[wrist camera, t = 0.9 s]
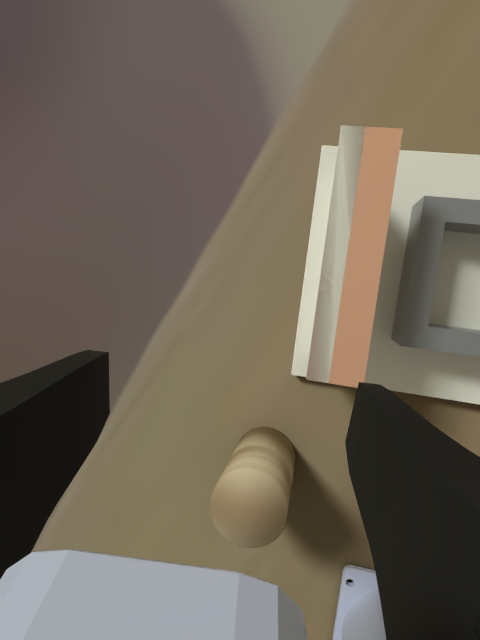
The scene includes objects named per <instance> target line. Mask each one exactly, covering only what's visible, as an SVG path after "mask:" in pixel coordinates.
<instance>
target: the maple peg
mask: <svg viewBox="0 0 480 640" xmlns="http://www.w3.org/2000/svg"><path fill="white" fill-rule="evenodd" d="M295 460H296V456H295V450H294V447H293V445H292V443H291V442H290V440H289V439H288V438H287V437H286V436H285V435H284V434H283V433H281V432H280V431H278V430H276V429H273V428H269V427H259V428H255V429H252V430H250V431H249V432H247V433H246V434H245V435H244V436H243V437H242V438H241V440H240V441H239V443H238V445H237V447H236V449H235V451H234V453H233V455H232V456H231V458H230V460H229V462H228V464H227V466H226V468H225V470H224V471H223V473H222V475H221V477H220V479H219V481H218V483H217V485H216V487H215V488H214V490H213V492H212V495H211V499H210V513H211V517H212V520H213V523H214V525H215V526H216V528H217V529H218V531H219V532H220V533H221V534H222V535H223V536H224V537H225V538H226V539H227V540H229V541H230V542H232V543H234V544H236V545H239V546H242V547H247V548H257V547H262V546H265V545H268V544H270V543H272V542H273V541H274V540H276V539H277V538H278V537H279V535H280V534H281V533H282V531H283V529H284V527H285V524H286V520H287V514H288V507H289V501H290V494H291V488H292V481H293V474H294V468H295Z"/></svg>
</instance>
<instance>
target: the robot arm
mask: <svg viewBox="0 0 480 640" xmlns="http://www.w3.org/2000/svg"><path fill="white" fill-rule="evenodd" d="M108 355H109V353H108V352H101V351H93V350H86V351H82V352H79V353H76V354H73V355H71V356H68V357H66V358H64V359H61V360H59V361H56V362H54V363H51V364H49V365H46V366H44V367H42V368H39V369H37V370H34V371H32V372H30V373H27V374H24V375H21V376H19V377H16V378H13V379H10V380H8V381H5V382H2V383H0V640H307V635H306V629H305V623H304V617H303V611H302V609H301V608H300V607H299V606H298V605H297V604H296V603H295V602H294V601H293V600H292V599H291V598H290V597H289V596H288V595H287V594H286V593H285V592H284V591H282V590H281V589H280V588H279V587H278V586H277V585H276V584H274V583H272V582H269V581H266V580H263V579H260V578H257V577H254V576H251V575H248V574H245V573H242V572H239V571H232V570H225V569H217V568H210V567H203V566H195V565H188V564H180V563H173V562H165V561H158V560H151V559H143V558H136V557H128V556H121V555H113V554H106V553H99V552H91V551H84V550H76V549H66V550H51V551H38V552H32V553H31V551H32V549H33V547H34V545H35V543H36V541H37V539H38V537H39V535H40V533H41V531H42V529H43V527H44V525H45V523H46V522H47V520H48V518H49V516H50V515H51V513H52V511H53V509H54V508H55V506H56V504H57V503H58V501H59V500H60V498H61V497H62V495H63V494H64V492H65V490H66V489H67V487H68V486H69V484H70V483H71V481H72V480H73V478H74V477H75V475H76V473H77V472H78V470H79V469H80V467H81V466H82V464H83V463H84V461H85V460H86V458H87V456H88V455H89V453H90V452H91V450H92V448H93V447H94V445H95V444H96V442H97V440H98V438H99V436H100V434H101V432H102V429H103V427H104V425H105V423H106V420H107V418H108V416H109V413H110V407H109V356H108ZM345 443H346V451H347V459H348V466H349V473H350V477H351V481H352V485H353V488H354V492H355V495H356V499H357V503H358V506H359V510H360V513H361V517H362V520H363V524H364V527H365V531H366V534H367V538H368V541H369V545H370V549H371V553H372V557H373V562H374V567H375V570H371V569H367V568H362V567H358V566H354V565H347V566H345V567H344V569H343V573H342V579H341V586H340V592H339V599H338V605H337V612H336V618H335V625H334V631H333V638H332V640H480V457H479V456H477V455H476V454H474V453H472V452H471V451H469V450H468V449H466V448H465V447H463V446H461V445H460V444H459V443H457V442H456V441H454V440H453V439H451V438H450V437H449V436H447V435H446V434H444V433H443V432H442V431H440V430H439V429H437V428H436V427H435V426H433V425H432V424H431V423H430V422H428V421H427V420H426V419H424V418H423V417H422V416H421V415H419V414H418V413H417V412H416V411H414V410H413V409H412V408H411V407H409V406H408V405H407V404H406V403H404V402H403V401H402V400H401V399H399V398H398V397H397V396H396V395H394V394H393V393H392V392H391V391H389V390H388V389H387V388H385V387H384V386H382V385H380V384H371V383H363V382H359V383H358V388H357V392H356V397H355V401H354V406H353V410H352V415H351V419H350V424H349V428H348V433H347V437H346V442H345ZM348 579H351V580H353V582H351V583H349V582H347V581H346V580H348Z"/></svg>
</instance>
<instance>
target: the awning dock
mask: <svg viewBox="0 0 480 640" xmlns="http://www.w3.org/2000/svg"><path fill="white" fill-rule="evenodd" d="M402 132H403V129H397V128H378V127H360V126H341V130H340V137H339V144H338V146H325V145H322V149H321V156H320V164H319V171H318V179H317V186H316V194H315V201H314V208H313V216H312V223H311V231H310V238H309V246H308V253H307V260H306V268H305V275H304V283H303V290H302V298H301V305H300V312H299V320H298V327H297V335H296V342H295V349H294V357H293V364H292V372H291V375H297V376H303V377H306V380H311V381H318V382H324V383H330V384H336V385H343V386H349V387H355V388H358V383H359V382H363V383H371V384H380V385H382V386H384V387H385V388H387V389H388V390H391V391H397V392H404V393H410V394H416V395H423V396H429V397H435V398H441V399H448V400H454V401H460V402H467V403H473V404H479V405H480V155H470V154H453V153H437V152H421V151H405V150H400V145H401V138H402Z"/></svg>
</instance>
